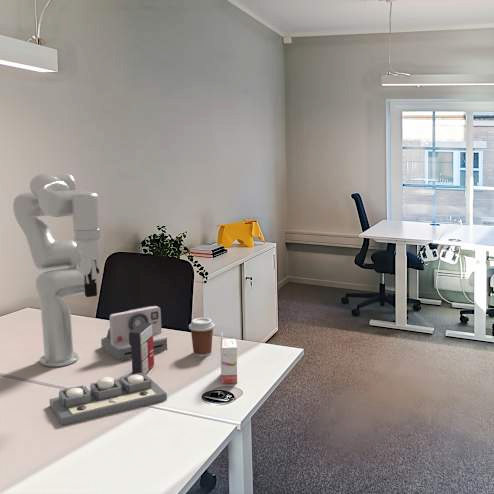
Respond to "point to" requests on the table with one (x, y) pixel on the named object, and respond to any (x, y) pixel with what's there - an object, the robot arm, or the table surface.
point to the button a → (74, 392)
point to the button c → (135, 379)
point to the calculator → (142, 348)
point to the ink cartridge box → (228, 360)
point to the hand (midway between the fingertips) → (91, 295)
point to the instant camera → (127, 322)
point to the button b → (105, 383)
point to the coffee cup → (202, 336)
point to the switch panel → (106, 399)
